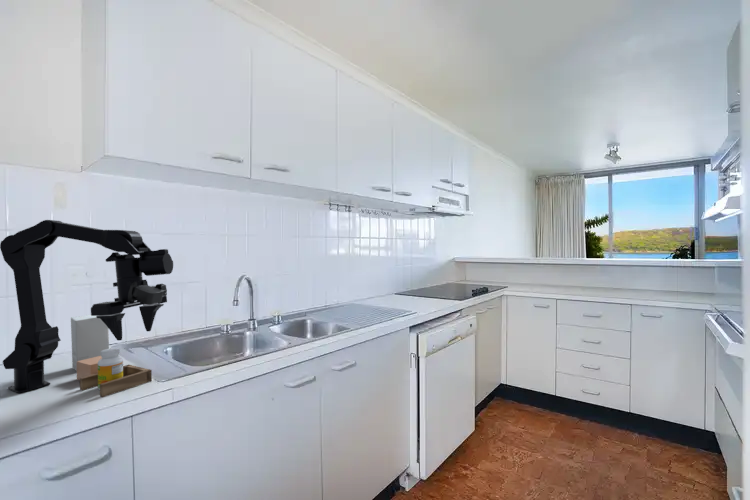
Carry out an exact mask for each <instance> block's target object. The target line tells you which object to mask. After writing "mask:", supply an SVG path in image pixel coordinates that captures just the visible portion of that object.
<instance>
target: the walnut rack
mask: <svg viewBox="0 0 750 500" xmlns="http://www.w3.org/2000/svg"><path fill="white" fill-rule="evenodd" d="M152 375H153V374H152V369H149V368H145V367H142V366H141V367H140V366H136V365H133V364H126V365H123V377H122V378H118V379H115V380H112V381H108V382H105V383H102V384H100V390H99V396H100V397H101V398H105V397H108V396H110V395H113V394H116V393H119V392H122V391H123V392H124V391H125V390H129V389H132V388H135V387H138V386H141V385H143V384H147V383H151V382H152ZM96 387H98V373H96V374H93V375H89V376H86V377H82V378H80V380H79V390H80V391H85V390H89V389H93V388H96Z"/></svg>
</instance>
